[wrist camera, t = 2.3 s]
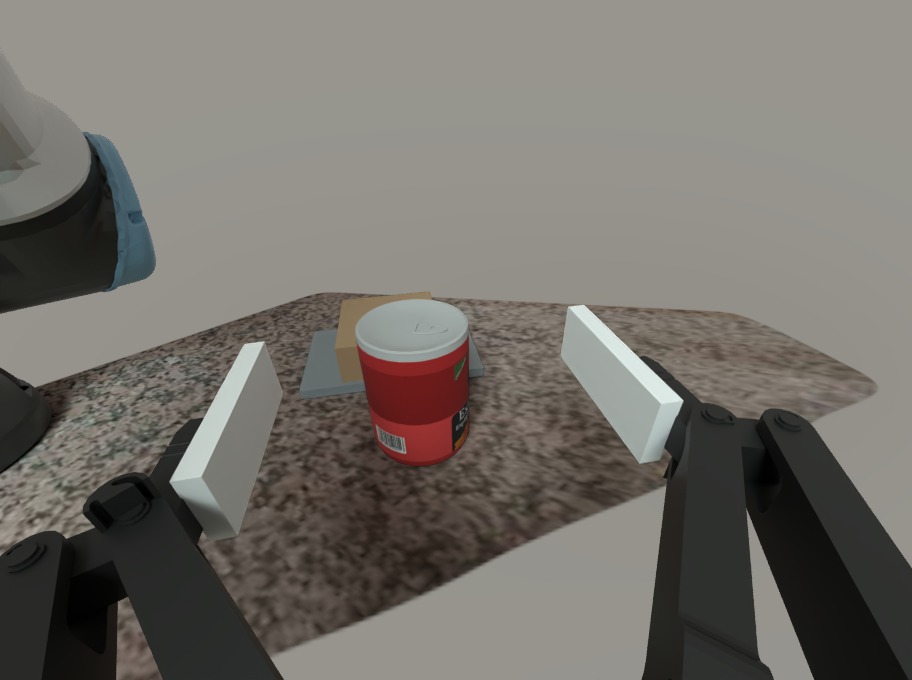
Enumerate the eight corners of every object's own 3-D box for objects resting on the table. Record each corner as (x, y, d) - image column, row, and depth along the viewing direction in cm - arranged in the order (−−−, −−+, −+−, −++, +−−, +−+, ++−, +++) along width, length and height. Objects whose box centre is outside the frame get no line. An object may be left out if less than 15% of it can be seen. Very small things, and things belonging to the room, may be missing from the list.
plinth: (301, 399, 36) (287, 357, 33) (316, 338, 45) (306, 301, 42) (483, 375, 38) (484, 334, 36) (462, 322, 48) (462, 286, 45)
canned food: (476, 462, 29) (478, 347, 23) (374, 476, 28) (348, 360, 22) (461, 397, 36) (459, 293, 30) (376, 407, 35) (357, 302, 29)
